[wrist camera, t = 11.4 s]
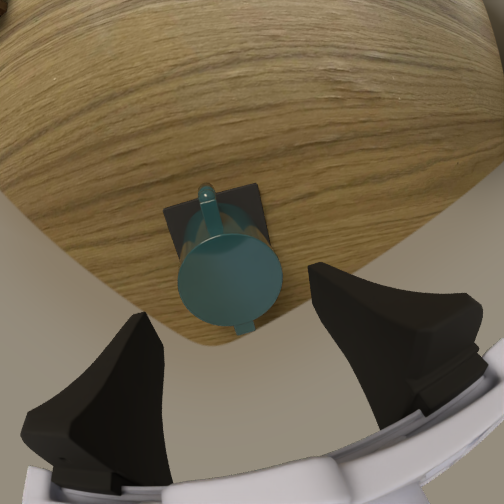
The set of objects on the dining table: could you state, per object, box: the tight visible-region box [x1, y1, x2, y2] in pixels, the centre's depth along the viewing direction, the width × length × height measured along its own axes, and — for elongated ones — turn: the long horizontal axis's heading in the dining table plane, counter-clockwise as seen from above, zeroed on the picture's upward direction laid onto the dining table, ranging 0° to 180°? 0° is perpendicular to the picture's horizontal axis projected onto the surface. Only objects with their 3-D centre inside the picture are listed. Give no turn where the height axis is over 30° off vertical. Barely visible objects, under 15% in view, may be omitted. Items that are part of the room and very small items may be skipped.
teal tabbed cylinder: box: [178, 183, 283, 335], centre depth 16 cm, size 5×8×6 cm
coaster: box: [163, 183, 271, 259], centre depth 19 cm, size 6×6×1 cm
